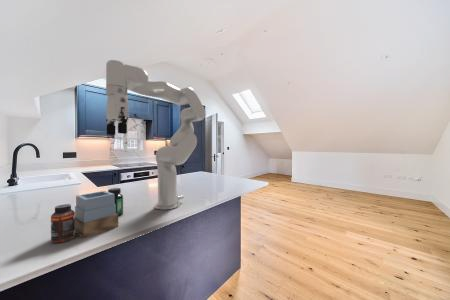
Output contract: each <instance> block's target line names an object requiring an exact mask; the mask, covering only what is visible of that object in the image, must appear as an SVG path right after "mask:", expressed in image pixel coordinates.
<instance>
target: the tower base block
mask: <svg viewBox="0 0 450 300" xmlns="http://www.w3.org/2000/svg"><path fill="white" fill-rule="evenodd" d="M118 227H119V217H118V214H116V215H112V216H109V217H105V218H101V219H98V220H94V221H91V222H87V223H83V222H82V221H80V220H79V219H77V218H76V217H75V233H77V234H78V235H79V236H81V237H82V238H84V239H85V238H88V237H91V236H93V235H96V234H99V233H103V232H105V231H109V230H111V229H112V230H113V229H115V228H118Z"/></svg>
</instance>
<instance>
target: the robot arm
mask: <svg viewBox="0 0 450 300" xmlns="http://www.w3.org/2000/svg"><path fill="white" fill-rule="evenodd" d="M105 68H106V69H105V95H106V96H107V99H106V110H105V111H106V112H105V113H106V114H105V119H106V134H107V136H108V135H109V136H115V135H116V122H117V133H118V134H123V135H125V134H127V133H128V123H129V122H128V120H129V118H130V109H129V107H130V106H129V99H128V98H129V97H128V91H130V92H132V93H133V92H134V93H135V94H138V95H142V96H146V97H147V96H148V97H152V98H157V99H162V100H164V101H167V102H169V103H173V104H175V105H178V106H183V105H188V104H189V106H190V107H187V108H184V109H182V110H181V111H180V115H179V116H180V122H181V125H180V127H179V128H178V129H177V130H176V132H175V133H174V134H173V135H172V136H171V138H170V139H169V145H170V146H169V145H168V146H167V145H165V146H162V147H159V148H158V149H157V151H156V153H155V160H156V162H155V163H156V165H157V166H156V167H157V202H156V203H155V204H154V208H155V209H156V210H164V211H166V210H172V209H175V208H178V207H179V206H181V202H180V200H183V199H184V197H185V196H184V194H183V195H182V194H181V195H177V194H178V192H177V191H178V189H177V186H178V184H177V183H178V181H177V176H178V175H177V167H176V166H180V165H183V164H185V162H186V161H187V160H188V159H189V158H190V156H191V155H192V153H193V152H194V150H195V149H196V147H197V144H198V138H197V136H196V135H195V133H194V132H195V128H194V123H193V122H200V121H203V120H204V119H205V118H206V109H205V107H204V106H203V104H202V101H201V99H200V97H199V96H198V95H197V92H196V91H195V90H194V89H193V88H192V87H189V86H187V87H183V88H178V87H176V86H174V85H172V84H170V83H169V82H166V81H161V80H160V81H157V80H156V81H149V75H148V72H147V71H146V70H145V69H143V68H141V67H139V66H136V65H135V66H133V65H131V64H130V65H129V64H125V63H124V62H122V61H120V60H116V59H110V60H108V61H107V62H106V67H105Z"/></svg>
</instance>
